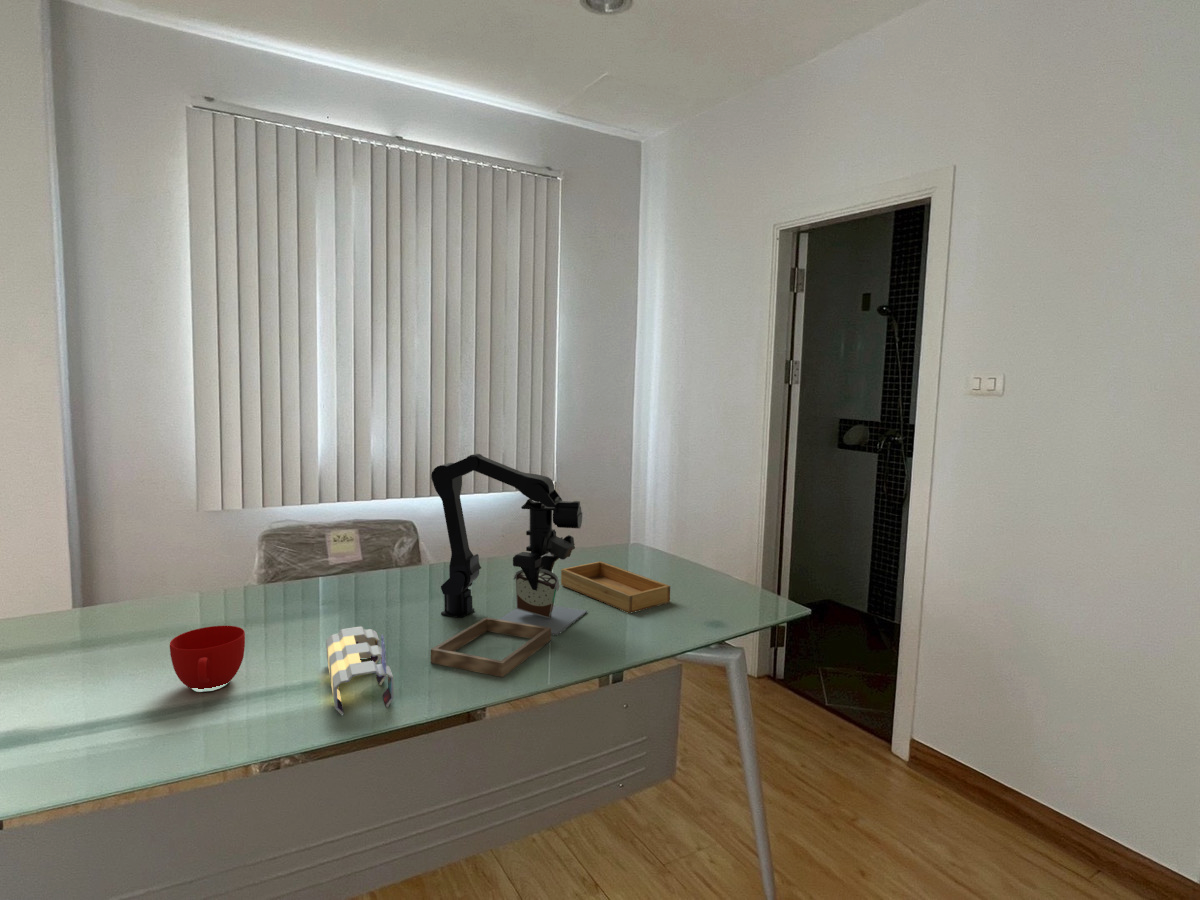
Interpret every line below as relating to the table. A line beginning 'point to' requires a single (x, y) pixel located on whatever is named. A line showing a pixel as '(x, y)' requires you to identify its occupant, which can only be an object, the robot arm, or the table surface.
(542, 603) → the food container
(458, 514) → the robot arm
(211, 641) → the ceramic cup
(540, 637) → the walnut frame
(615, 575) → the tray
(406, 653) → the table surface
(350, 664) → the jagged striped arch
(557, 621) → the slate mat
